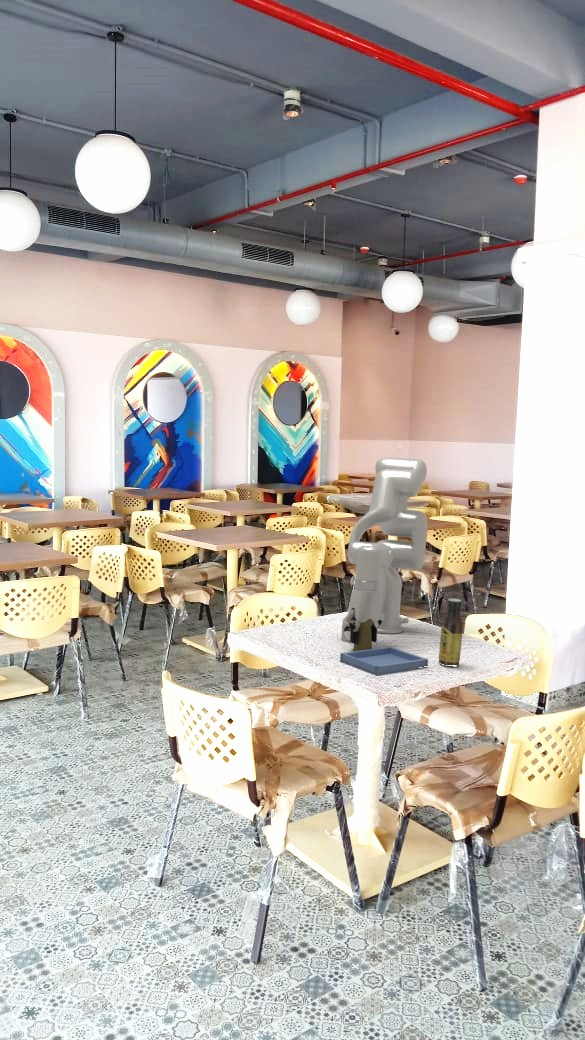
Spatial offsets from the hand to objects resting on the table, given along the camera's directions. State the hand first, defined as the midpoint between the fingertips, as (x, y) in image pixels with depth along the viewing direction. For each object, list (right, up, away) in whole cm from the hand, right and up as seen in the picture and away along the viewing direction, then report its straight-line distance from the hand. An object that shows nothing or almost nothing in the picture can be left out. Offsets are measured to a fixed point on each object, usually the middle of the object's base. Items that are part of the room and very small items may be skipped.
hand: (363, 641), depth 255 cm
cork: (0, -3, 0) cm, 3 cm away
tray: (+5, -4, -15) cm, 16 cm away
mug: (-1, -2, +13) cm, 13 cm away
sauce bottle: (+25, -6, -11) cm, 27 cm away
